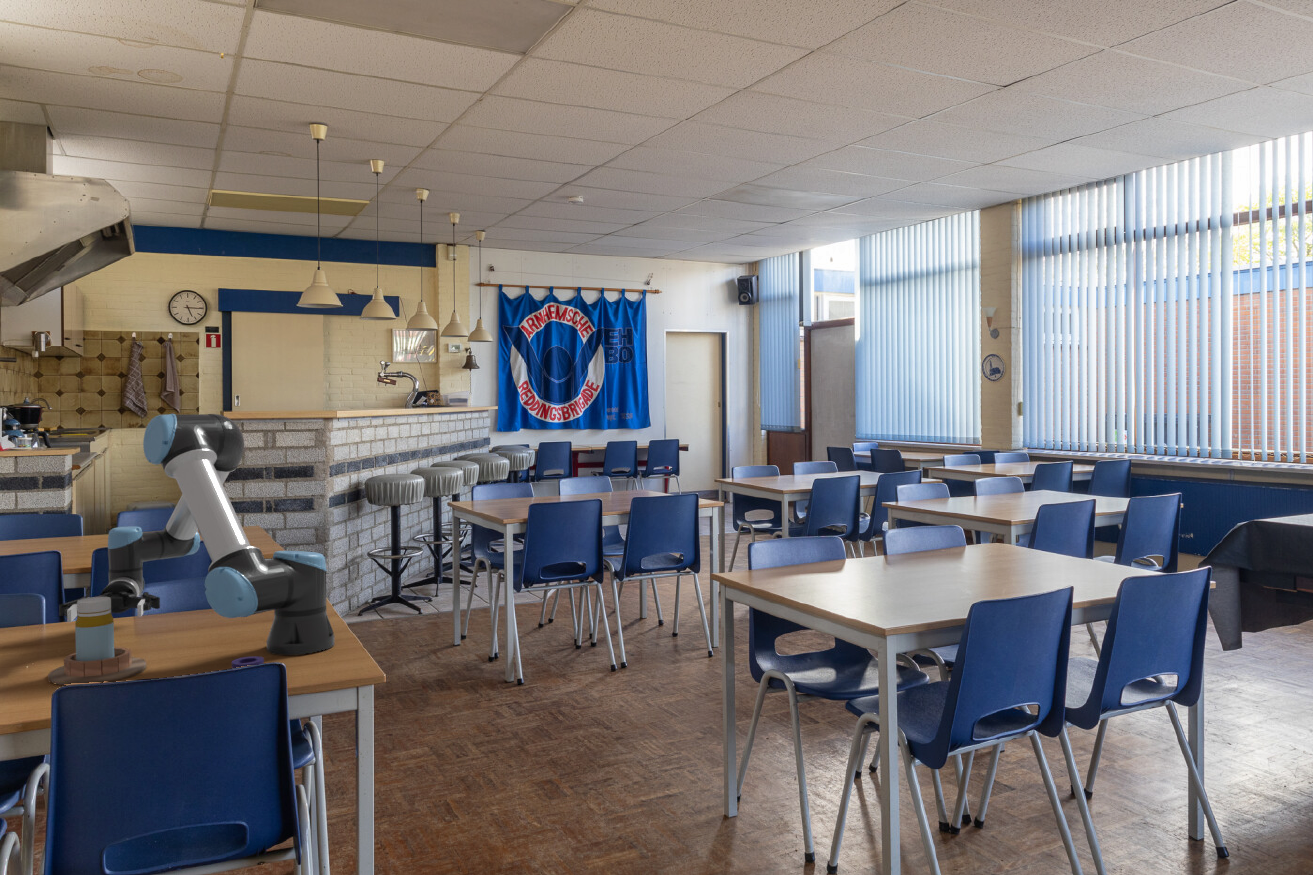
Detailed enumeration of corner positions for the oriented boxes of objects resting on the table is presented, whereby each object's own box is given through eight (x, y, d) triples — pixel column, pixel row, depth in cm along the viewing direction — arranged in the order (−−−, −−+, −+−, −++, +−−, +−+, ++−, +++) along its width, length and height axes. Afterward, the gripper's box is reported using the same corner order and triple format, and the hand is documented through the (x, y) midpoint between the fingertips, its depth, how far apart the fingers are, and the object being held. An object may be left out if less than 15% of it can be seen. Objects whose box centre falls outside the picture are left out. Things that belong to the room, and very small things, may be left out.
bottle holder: (161, 670, 195) (160, 652, 194) (68, 691, 180) (67, 671, 180) (125, 656, 205) (124, 639, 205) (34, 675, 191) (34, 656, 191)
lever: (245, 669, 196) (245, 655, 196) (270, 671, 195) (270, 657, 194) (205, 686, 185) (205, 671, 184) (231, 688, 183) (230, 673, 183)
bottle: (92, 663, 196) (90, 596, 196) (121, 664, 196) (120, 596, 195) (68, 672, 189) (66, 602, 189) (99, 673, 189) (97, 603, 188)
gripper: (177, 606, 225) (167, 624, 206) (60, 615, 215) (39, 635, 196) (176, 576, 225) (167, 592, 205) (59, 584, 215) (38, 601, 196)
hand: (104, 613), depth 201 cm, fingers open, 13 cm apart
